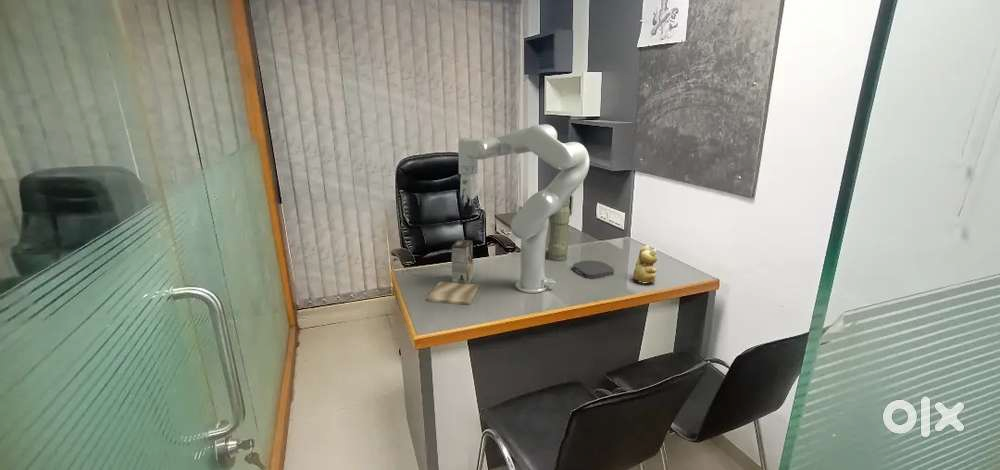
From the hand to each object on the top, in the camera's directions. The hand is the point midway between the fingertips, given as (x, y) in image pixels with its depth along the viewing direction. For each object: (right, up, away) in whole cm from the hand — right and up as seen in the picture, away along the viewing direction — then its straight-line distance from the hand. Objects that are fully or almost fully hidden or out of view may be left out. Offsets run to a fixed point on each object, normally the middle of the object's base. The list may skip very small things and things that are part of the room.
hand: (468, 214), depth 187 cm
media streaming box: (+53, -25, +10) cm, 59 cm away
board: (-5, -31, -14) cm, 34 cm away
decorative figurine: (+71, -28, 0) cm, 76 cm away
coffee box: (-2, -27, -2) cm, 27 cm away
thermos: (+40, -19, +26) cm, 51 cm away
